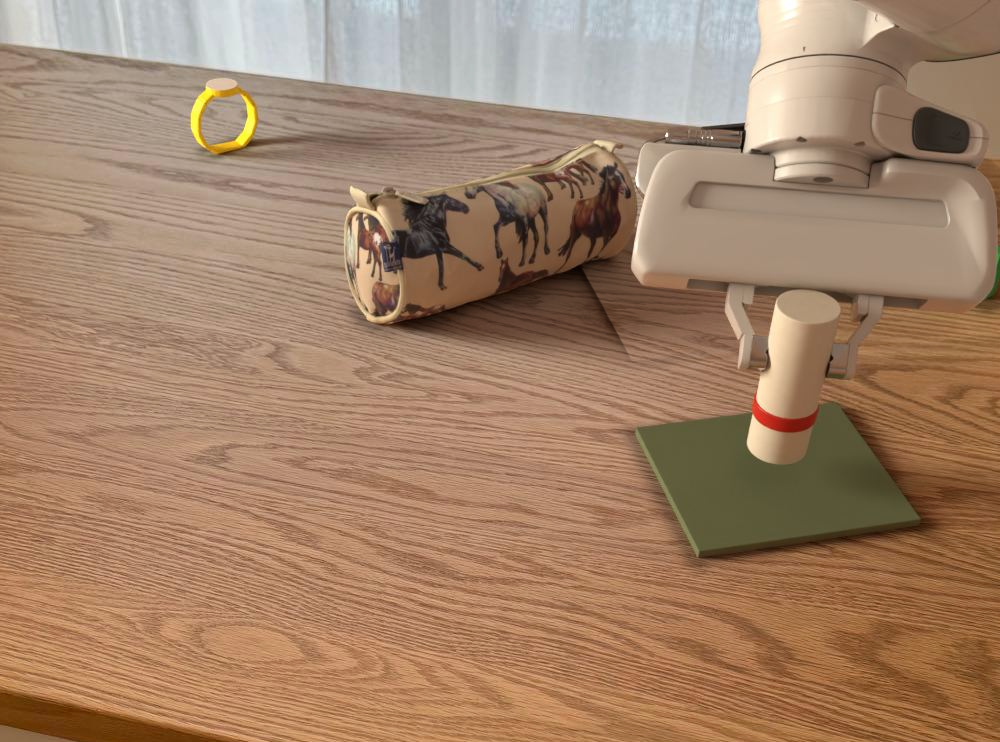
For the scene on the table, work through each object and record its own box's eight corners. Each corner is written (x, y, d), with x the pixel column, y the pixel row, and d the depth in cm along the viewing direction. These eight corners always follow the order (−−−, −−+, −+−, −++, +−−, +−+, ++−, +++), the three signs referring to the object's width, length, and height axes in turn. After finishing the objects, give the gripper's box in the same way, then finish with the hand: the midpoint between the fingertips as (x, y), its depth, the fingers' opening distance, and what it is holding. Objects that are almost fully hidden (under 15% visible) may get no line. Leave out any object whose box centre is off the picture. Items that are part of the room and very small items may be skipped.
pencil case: (389, 351, 88) (384, 226, 81) (337, 295, 93) (328, 174, 87) (641, 272, 96) (655, 153, 89) (580, 225, 101) (589, 109, 94)
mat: (834, 408, 83) (836, 401, 83) (919, 526, 74) (921, 519, 74) (634, 434, 81) (635, 427, 80) (697, 559, 72) (698, 551, 72)
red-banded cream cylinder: (793, 424, 78) (826, 284, 71) (818, 462, 75) (855, 320, 68) (735, 431, 77) (763, 291, 70) (759, 470, 74) (790, 328, 67)
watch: (205, 164, 109) (196, 98, 105) (191, 152, 111) (181, 87, 107) (265, 146, 112) (258, 80, 108) (249, 135, 113) (242, 70, 109)
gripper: (643, 103, 70) (615, 345, 69) (1020, 130, 68) (994, 381, 67) (639, 143, 76) (614, 366, 76) (983, 169, 74) (960, 399, 73)
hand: (795, 373), depth 71 cm, fingers closed on red-banded cream cylinder, 3 cm apart
